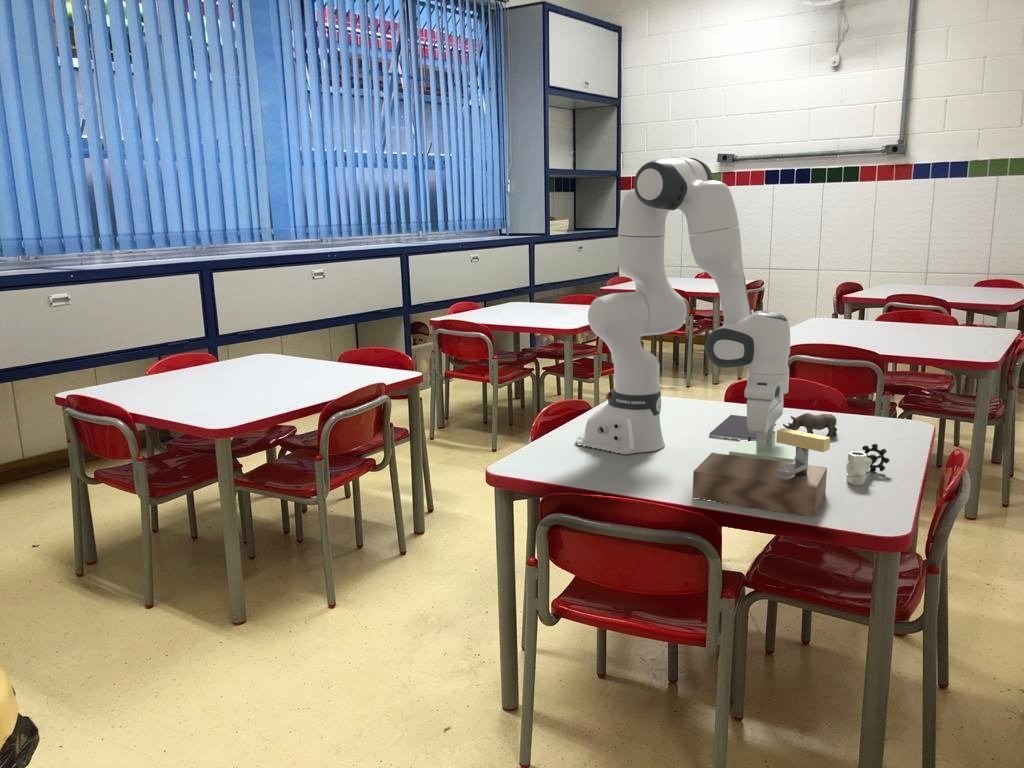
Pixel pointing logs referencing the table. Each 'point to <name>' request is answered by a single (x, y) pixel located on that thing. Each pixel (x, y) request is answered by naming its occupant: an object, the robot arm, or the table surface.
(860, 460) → the valve
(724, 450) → the table surface
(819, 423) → the rhino figurine
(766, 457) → the cover
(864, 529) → the table surface
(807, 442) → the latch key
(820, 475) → the walnut box
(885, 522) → the table surface
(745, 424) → the notebook
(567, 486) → the table surface
